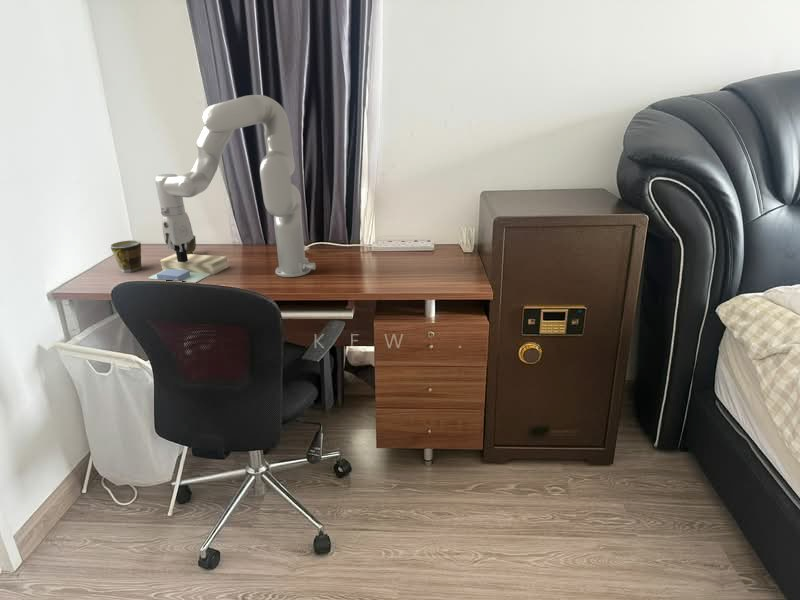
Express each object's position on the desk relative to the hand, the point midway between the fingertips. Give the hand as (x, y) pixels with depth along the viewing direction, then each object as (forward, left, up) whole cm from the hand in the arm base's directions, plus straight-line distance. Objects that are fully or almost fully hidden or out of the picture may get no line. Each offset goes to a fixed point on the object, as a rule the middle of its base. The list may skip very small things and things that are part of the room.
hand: (182, 261), depth 187 cm
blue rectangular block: (0, +5, -2) cm, 6 cm away
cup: (+13, -19, -5) cm, 24 cm away
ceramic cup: (+23, +2, -5) cm, 24 cm away
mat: (0, +3, -5) cm, 6 cm away
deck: (0, -6, -5) cm, 7 cm away
